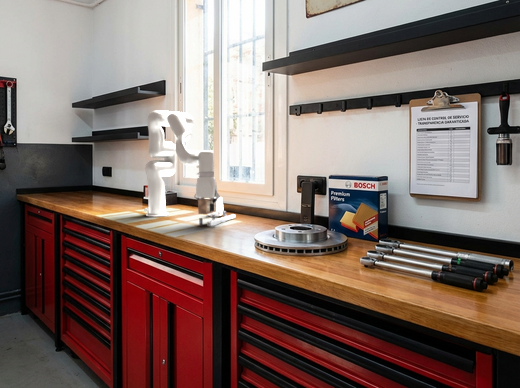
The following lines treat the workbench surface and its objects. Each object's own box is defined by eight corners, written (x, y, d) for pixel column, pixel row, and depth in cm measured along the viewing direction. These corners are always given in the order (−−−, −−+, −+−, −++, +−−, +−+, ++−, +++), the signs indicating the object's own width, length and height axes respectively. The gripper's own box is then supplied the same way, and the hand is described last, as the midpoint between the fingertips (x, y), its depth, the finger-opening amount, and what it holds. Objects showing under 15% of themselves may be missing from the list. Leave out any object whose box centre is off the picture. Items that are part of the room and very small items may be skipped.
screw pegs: (198, 225, 201) (198, 218, 201) (224, 217, 226) (224, 211, 226) (201, 225, 200) (201, 218, 200) (226, 217, 226) (226, 211, 225)
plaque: (198, 213, 203) (198, 199, 202) (208, 211, 212) (207, 197, 211) (206, 214, 201) (206, 200, 201) (216, 211, 210) (215, 198, 210)
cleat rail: (207, 226, 199) (207, 222, 199) (232, 217, 225) (232, 214, 225) (210, 226, 198) (210, 222, 198) (235, 217, 224) (235, 214, 224)
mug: (229, 216, 230) (228, 198, 229) (216, 218, 224) (216, 199, 223) (217, 214, 239) (217, 196, 238) (205, 215, 234) (204, 197, 233)
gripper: (187, 175, 205) (189, 211, 206) (217, 175, 198) (218, 212, 200) (195, 174, 212) (196, 209, 213) (224, 174, 205) (225, 210, 207)
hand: (207, 210), depth 207 cm, fingers closed on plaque, 4 cm apart
